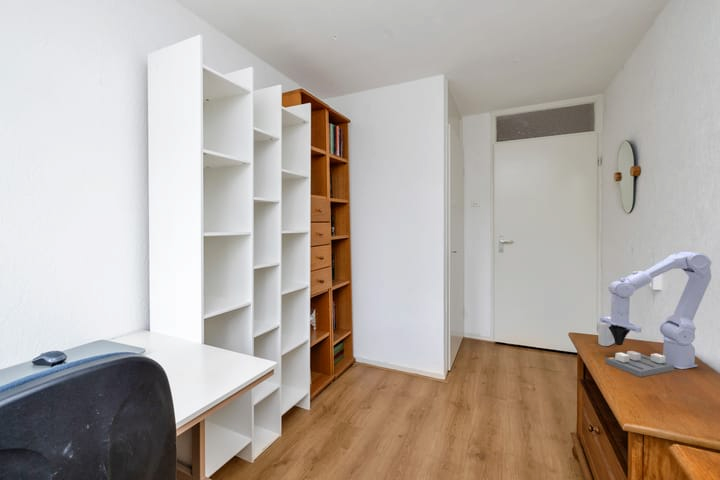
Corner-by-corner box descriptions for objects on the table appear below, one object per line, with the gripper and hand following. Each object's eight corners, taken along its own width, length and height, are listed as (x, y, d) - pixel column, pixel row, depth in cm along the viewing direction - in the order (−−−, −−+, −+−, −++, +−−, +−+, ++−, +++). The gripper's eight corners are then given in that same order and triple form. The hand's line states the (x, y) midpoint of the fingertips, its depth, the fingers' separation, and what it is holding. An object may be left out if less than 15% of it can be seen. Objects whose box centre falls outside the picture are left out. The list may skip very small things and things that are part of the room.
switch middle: (632, 356, 127) (632, 350, 126) (640, 359, 124) (640, 353, 124) (626, 357, 126) (626, 351, 126) (635, 360, 123) (635, 354, 123)
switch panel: (641, 357, 132) (642, 351, 132) (677, 369, 120) (678, 363, 120) (605, 363, 126) (605, 357, 126) (639, 377, 115) (640, 370, 114)
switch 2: (656, 359, 124) (656, 353, 124) (665, 362, 121) (665, 356, 121) (650, 360, 123) (650, 354, 123) (659, 363, 120) (660, 357, 120)
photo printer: (605, 340, 152) (606, 314, 151) (616, 342, 148) (617, 316, 148) (596, 344, 146) (597, 317, 146) (607, 347, 143) (608, 319, 142)
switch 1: (621, 358, 125) (621, 352, 125) (629, 361, 122) (629, 355, 122) (615, 359, 124) (615, 353, 124) (623, 362, 121) (623, 356, 121)
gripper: (594, 307, 135) (593, 339, 136) (632, 317, 121) (631, 352, 122) (607, 306, 137) (606, 337, 138) (645, 315, 123) (644, 350, 124)
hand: (618, 344), depth 130 cm, fingers closed
